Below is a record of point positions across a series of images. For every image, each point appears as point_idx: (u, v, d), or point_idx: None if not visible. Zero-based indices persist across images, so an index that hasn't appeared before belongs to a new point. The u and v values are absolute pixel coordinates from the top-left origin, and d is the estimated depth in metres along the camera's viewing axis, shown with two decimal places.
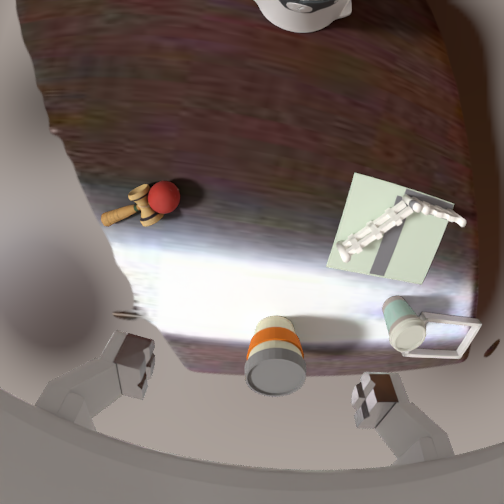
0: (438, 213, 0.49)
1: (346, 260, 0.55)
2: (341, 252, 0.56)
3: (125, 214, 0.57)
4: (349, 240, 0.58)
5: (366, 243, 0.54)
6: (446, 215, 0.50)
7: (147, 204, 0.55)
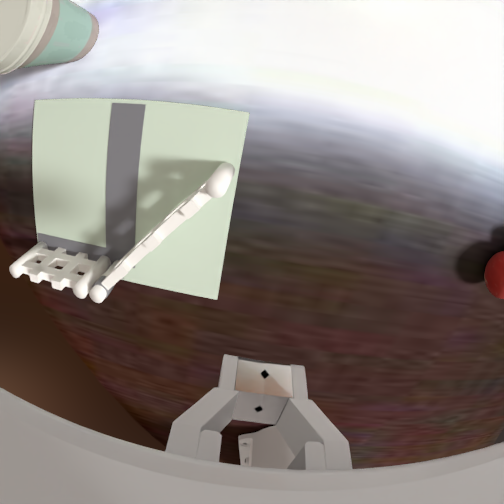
0: (58, 287, 0.27)
1: (215, 183, 0.22)
2: (227, 187, 0.24)
3: None
4: None
5: (174, 219, 0.24)
6: (44, 277, 0.28)
7: None
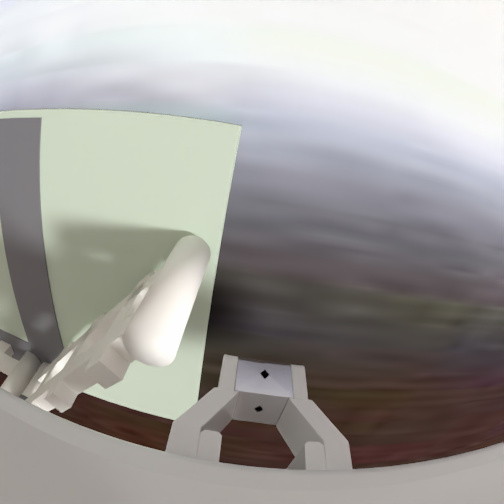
0: None
1: (145, 338, 0.08)
2: None
3: None
4: None
5: (84, 372, 0.10)
6: None
7: None
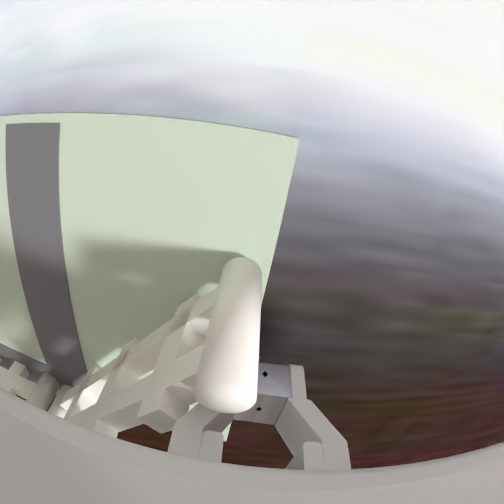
0: None
1: (222, 388, 0.07)
2: None
3: None
4: (206, 335, 0.12)
5: (131, 413, 0.09)
6: None
7: None
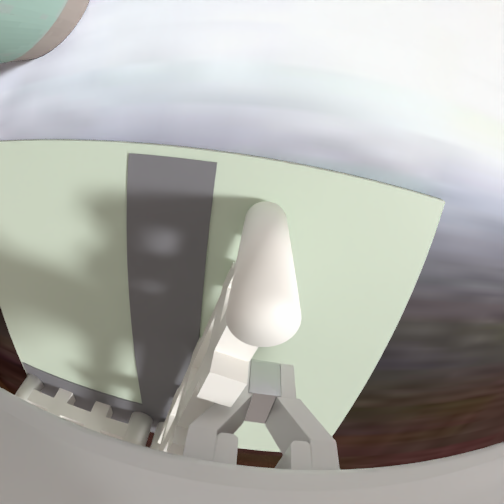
0: None
1: (254, 308, 0.06)
2: None
3: None
4: None
5: (200, 401, 0.09)
6: None
7: None
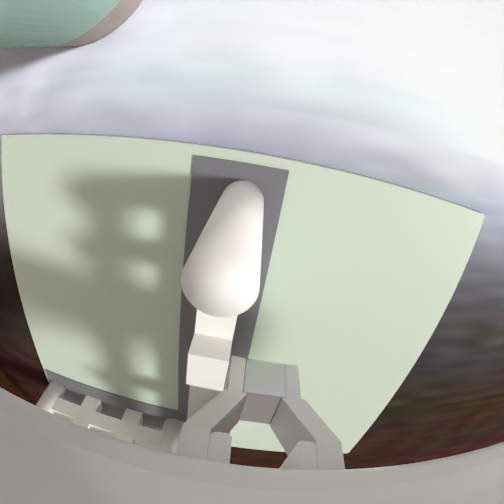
0: None
1: (207, 274, 0.06)
2: (260, 246, 0.08)
3: None
4: None
5: (199, 392, 0.09)
6: None
7: None
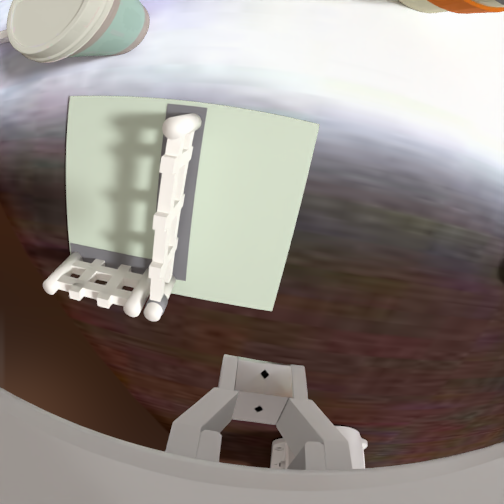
0: (105, 305, 0.27)
1: (169, 124, 0.19)
2: (189, 124, 0.21)
3: None
4: (188, 149, 0.24)
5: (164, 186, 0.22)
6: (85, 294, 0.27)
7: None
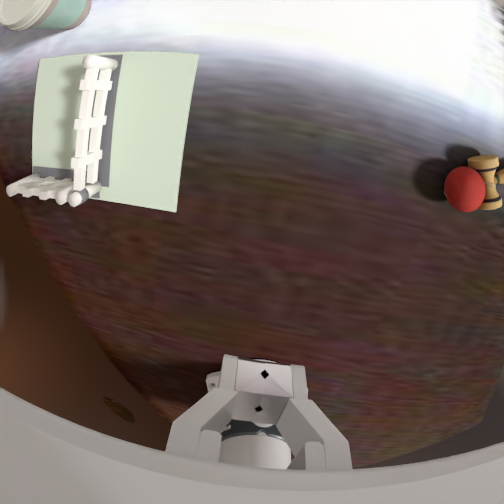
0: (44, 197, 0.32)
1: (86, 59, 0.25)
2: (101, 60, 0.26)
3: None
4: (106, 80, 0.29)
5: (83, 100, 0.27)
6: (33, 193, 0.32)
7: (485, 185, 0.32)
